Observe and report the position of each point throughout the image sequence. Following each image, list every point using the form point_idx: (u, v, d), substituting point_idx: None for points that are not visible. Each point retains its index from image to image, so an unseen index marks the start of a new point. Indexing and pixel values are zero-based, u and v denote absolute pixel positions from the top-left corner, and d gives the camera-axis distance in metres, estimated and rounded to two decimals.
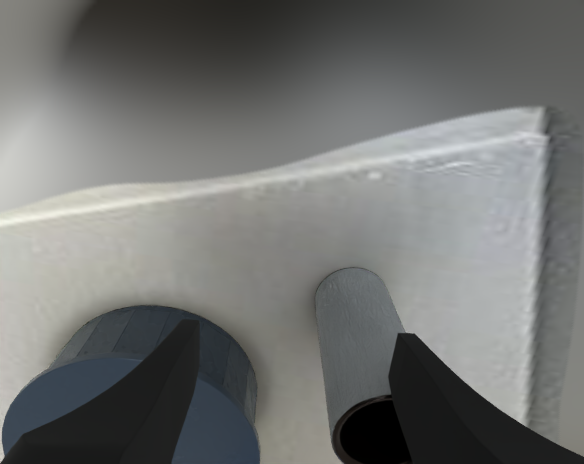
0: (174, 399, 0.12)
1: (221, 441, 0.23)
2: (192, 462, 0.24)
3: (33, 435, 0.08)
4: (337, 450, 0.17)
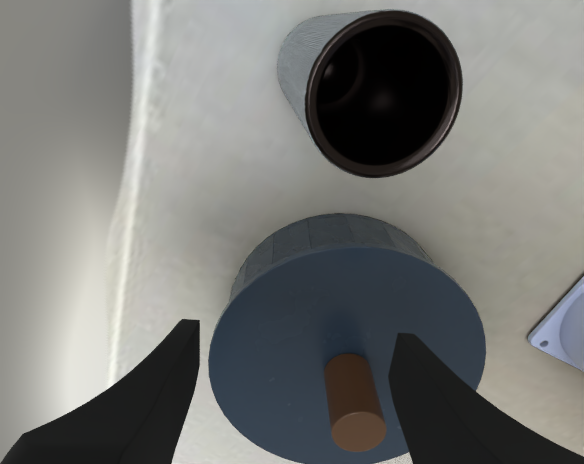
0: (174, 399, 0.12)
1: (370, 285, 0.20)
2: (383, 324, 0.21)
3: (33, 435, 0.08)
4: (369, 173, 0.13)
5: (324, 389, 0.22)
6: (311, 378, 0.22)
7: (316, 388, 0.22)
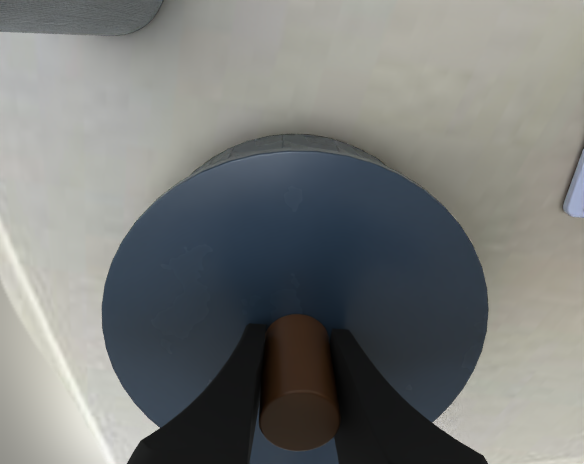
0: (254, 403, 0.12)
1: (257, 214, 0.14)
2: (306, 261, 0.15)
3: (153, 440, 0.08)
4: None
5: None
6: None
7: None
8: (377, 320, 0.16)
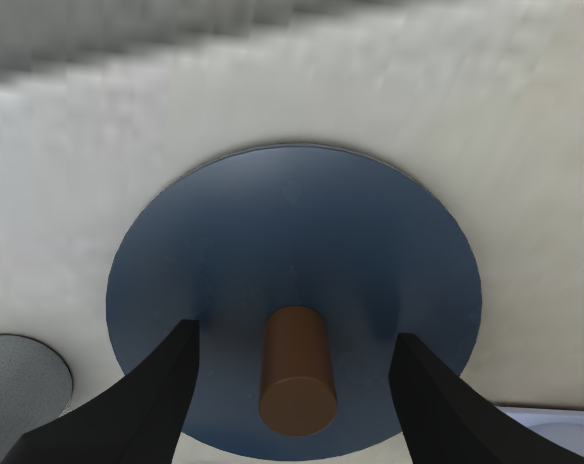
0: (174, 399, 0.12)
1: (257, 208, 0.14)
2: (305, 254, 0.15)
3: (33, 435, 0.08)
4: None
5: None
6: (256, 355, 0.17)
7: None
8: (374, 311, 0.16)
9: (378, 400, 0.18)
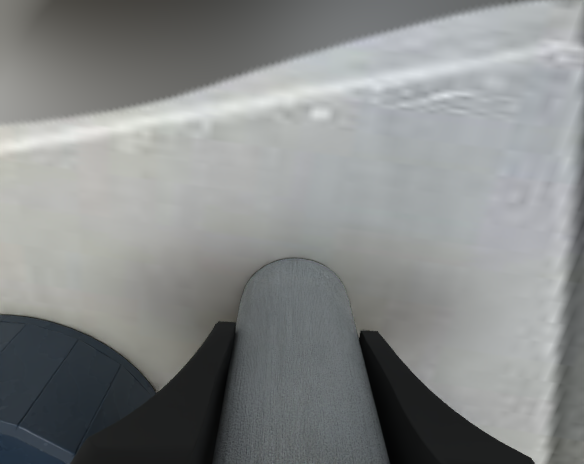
0: (218, 401, 0.12)
1: None
2: None
3: (98, 438, 0.08)
4: None
5: None
6: None
7: None
8: None
9: None
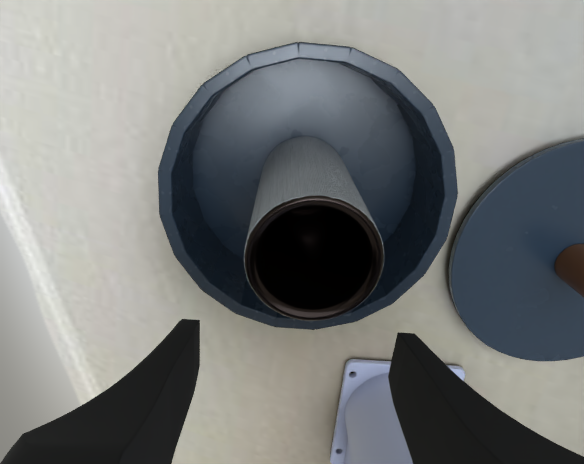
0: (174, 399, 0.12)
1: None
2: None
3: (34, 434, 0.08)
4: (251, 276, 0.14)
5: (551, 253, 0.24)
6: (562, 238, 0.24)
7: (550, 247, 0.24)
8: (576, 306, 0.26)
9: (502, 313, 0.26)
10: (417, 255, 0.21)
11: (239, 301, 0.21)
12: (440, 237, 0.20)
